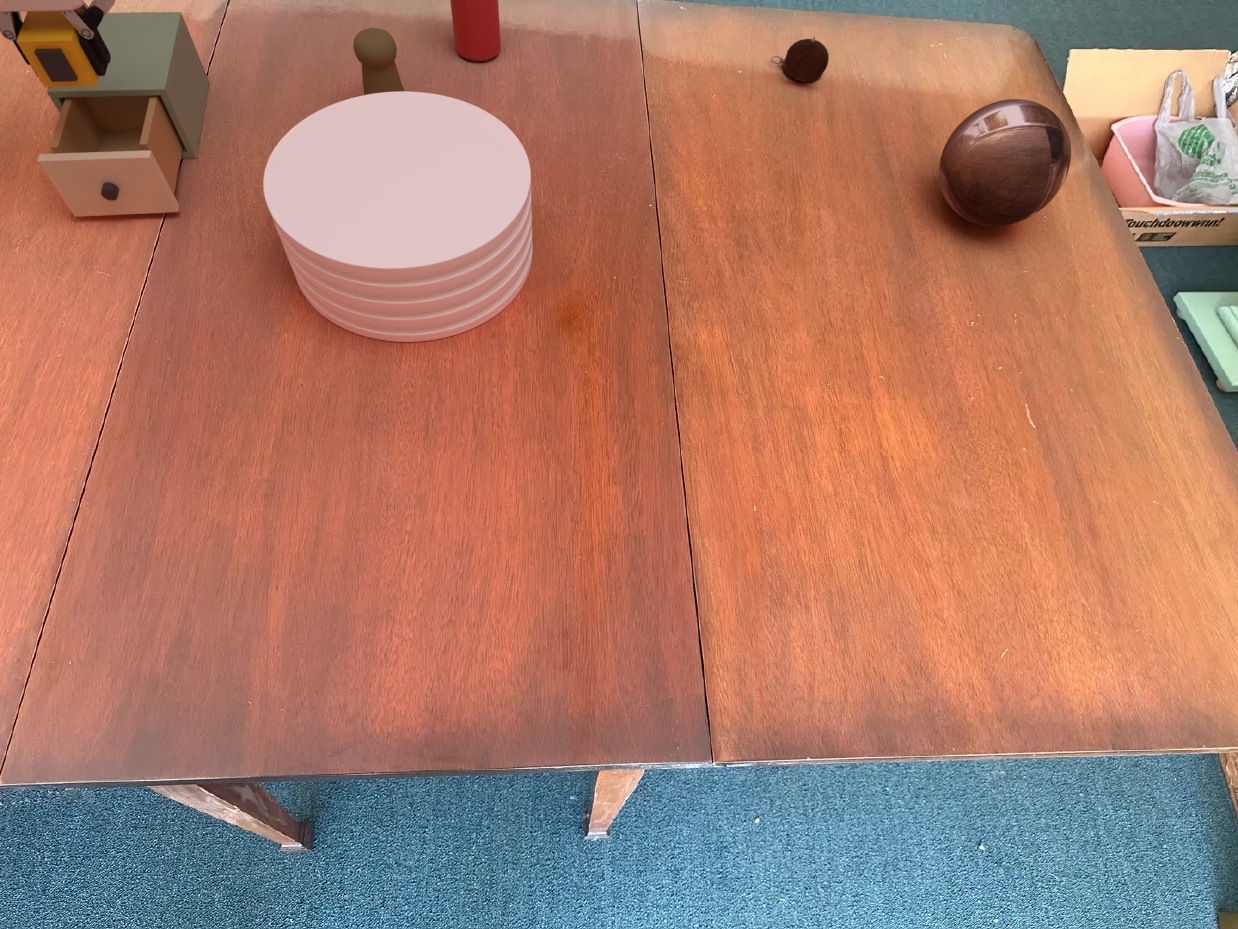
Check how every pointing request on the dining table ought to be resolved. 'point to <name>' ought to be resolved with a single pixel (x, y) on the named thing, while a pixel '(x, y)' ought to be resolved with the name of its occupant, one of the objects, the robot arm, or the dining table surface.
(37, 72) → the yellow block
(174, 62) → the cabinet
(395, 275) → the plate stack
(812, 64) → the compass
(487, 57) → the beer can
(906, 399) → the dining table surface
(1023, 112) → the wooden sphere
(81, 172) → the drawer
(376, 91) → the brown knobbed cone
